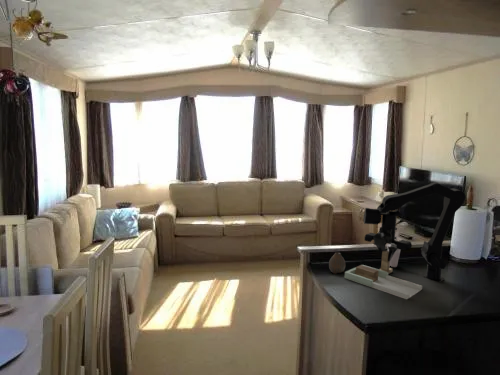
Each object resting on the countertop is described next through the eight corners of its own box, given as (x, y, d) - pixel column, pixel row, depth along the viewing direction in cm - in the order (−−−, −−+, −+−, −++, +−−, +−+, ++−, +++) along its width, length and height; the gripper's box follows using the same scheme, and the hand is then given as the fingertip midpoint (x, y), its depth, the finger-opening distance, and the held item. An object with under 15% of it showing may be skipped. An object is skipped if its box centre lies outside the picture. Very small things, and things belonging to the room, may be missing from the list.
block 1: (360, 274, 156) (361, 265, 156) (368, 276, 154) (369, 267, 153) (355, 276, 154) (356, 267, 153) (364, 279, 151) (364, 269, 150)
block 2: (368, 276, 153) (369, 267, 153) (377, 279, 151) (378, 270, 150) (363, 279, 151) (364, 269, 150) (372, 282, 148) (373, 272, 147)
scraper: (384, 270, 163) (386, 249, 161) (392, 273, 160) (394, 251, 159) (376, 274, 158) (378, 252, 156) (384, 276, 155) (386, 254, 154)
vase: (346, 271, 162) (347, 252, 161) (343, 276, 156) (344, 256, 154) (330, 268, 165) (331, 249, 163) (326, 273, 159) (328, 254, 157)
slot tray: (361, 272, 161) (362, 264, 161) (422, 291, 143) (423, 282, 142) (344, 280, 152) (344, 272, 151) (406, 301, 133) (407, 292, 133)
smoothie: (401, 268, 167) (403, 239, 165) (386, 267, 168) (388, 237, 166) (398, 264, 173) (401, 235, 171) (384, 262, 174) (386, 234, 172)
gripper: (359, 223, 157) (356, 258, 159) (401, 232, 144) (398, 271, 146) (372, 220, 165) (369, 253, 167) (413, 228, 151) (410, 264, 153)
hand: (385, 260), depth 158 cm, fingers open, 3 cm apart
